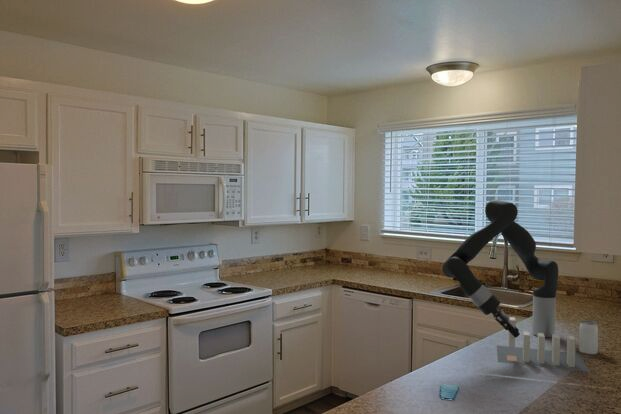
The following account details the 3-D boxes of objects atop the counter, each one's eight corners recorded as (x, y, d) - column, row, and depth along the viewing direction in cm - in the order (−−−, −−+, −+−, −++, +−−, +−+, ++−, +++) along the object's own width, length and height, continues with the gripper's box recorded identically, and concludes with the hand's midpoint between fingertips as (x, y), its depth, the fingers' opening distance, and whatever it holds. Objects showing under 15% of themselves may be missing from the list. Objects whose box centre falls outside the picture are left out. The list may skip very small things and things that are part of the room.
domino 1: (508, 343, 197) (509, 317, 197) (514, 343, 196) (514, 317, 196) (509, 346, 192) (509, 320, 192) (514, 347, 191) (515, 320, 191)
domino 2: (522, 357, 195) (523, 331, 195) (528, 358, 195) (529, 331, 194) (523, 361, 191) (524, 334, 190) (529, 362, 190) (530, 335, 190)
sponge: (434, 396, 158) (453, 397, 155) (441, 383, 169) (459, 384, 166) (434, 401, 158) (454, 402, 155) (441, 388, 169) (459, 388, 166)
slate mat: (496, 346, 211) (496, 345, 211) (578, 354, 201) (578, 353, 201) (497, 363, 190) (497, 361, 190) (589, 373, 181) (589, 371, 181)
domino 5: (566, 362, 191) (567, 335, 190) (572, 362, 190) (573, 335, 190) (568, 366, 186) (569, 338, 186) (574, 367, 185) (575, 339, 185)
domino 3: (537, 359, 194) (537, 332, 194) (542, 359, 193) (543, 333, 193) (538, 363, 189) (538, 336, 189) (544, 363, 188) (544, 336, 188)
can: (580, 349, 209) (581, 319, 208) (598, 352, 204) (599, 322, 204) (577, 352, 204) (577, 322, 203) (595, 356, 199) (596, 325, 199)
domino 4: (551, 360, 192) (552, 334, 192) (557, 361, 192) (558, 334, 191) (553, 364, 187) (554, 337, 187) (559, 365, 187) (560, 338, 187)
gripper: (492, 296, 189) (526, 332, 186) (491, 289, 203) (524, 323, 199) (476, 309, 191) (510, 345, 188) (477, 302, 205) (508, 335, 201)
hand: (517, 333), depth 193 cm, fingers closed on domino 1, 5 cm apart
